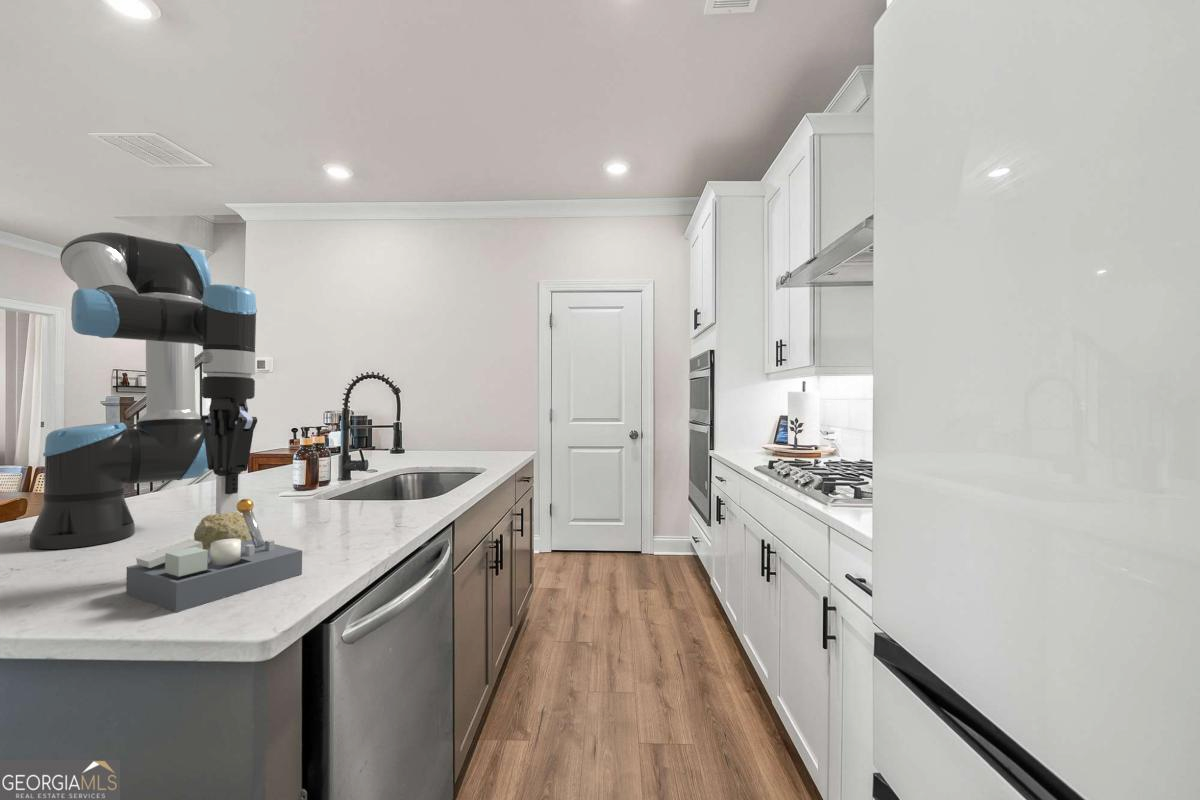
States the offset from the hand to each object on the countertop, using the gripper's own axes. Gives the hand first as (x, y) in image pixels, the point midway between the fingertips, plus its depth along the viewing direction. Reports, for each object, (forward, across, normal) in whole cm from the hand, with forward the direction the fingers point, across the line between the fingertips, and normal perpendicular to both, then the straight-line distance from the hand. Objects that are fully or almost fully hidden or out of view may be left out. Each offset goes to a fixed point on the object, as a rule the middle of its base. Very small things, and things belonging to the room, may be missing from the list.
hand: (226, 512), depth 91 cm
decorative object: (+10, -8, +4) cm, 14 cm away
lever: (+5, +10, 0) cm, 11 cm away
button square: (+5, +11, -11) cm, 17 cm away
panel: (+10, +8, -5) cm, 13 cm away
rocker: (+4, +4, -10) cm, 12 cm away
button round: (+5, +11, -6) cm, 14 cm away
